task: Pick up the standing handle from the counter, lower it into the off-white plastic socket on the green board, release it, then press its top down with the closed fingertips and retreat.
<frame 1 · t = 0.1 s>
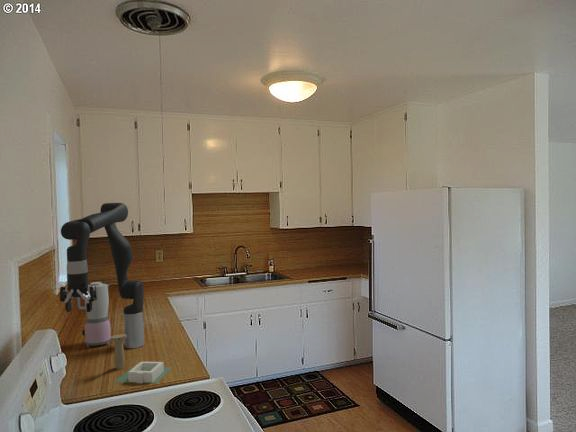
hand: (78, 311, 168), 29 cm above the countertop, tool pointing down, fingers open, 8 cm apart
handle: (119, 370, 181), on the countertop
blender: (95, 344, 216), on the countertop
socket: (146, 376, 171), resting on board
board: (144, 376, 174), on the countertop
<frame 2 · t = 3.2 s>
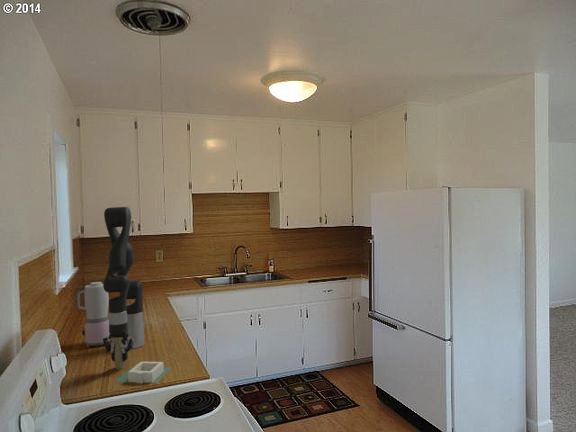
hand: (119, 360, 181), 4 cm above the countertop, tool pointing down, fingers closed on handle, 4 cm apart
handle: (119, 370, 181), on the countertop, touching gripper
everything else where it was.
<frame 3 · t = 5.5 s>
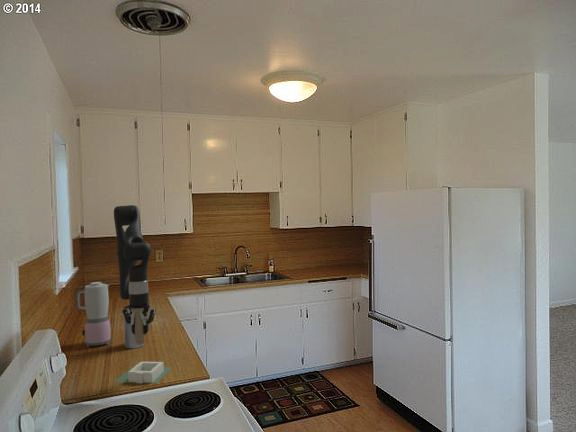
hand: (140, 333, 170), 19 cm above the countertop, tool pointing down, fingers closed on handle, 4 cm apart
handle: (140, 344, 170), point 15 cm above the countertop, touching gripper
everything else where it was.
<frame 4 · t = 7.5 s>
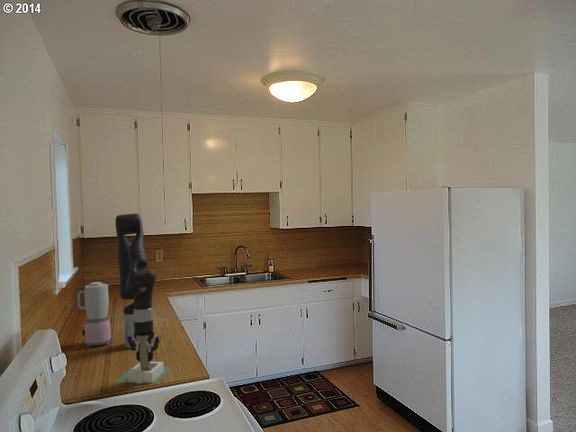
hand: (144, 360, 170), 8 cm above the countertop, tool pointing down, fingers closed on handle, 4 cm apart
handle: (145, 371, 170), point 4 cm above the countertop, touching gripper
everything else where it was.
when the fingers open (7 cm above the countertop, at t = 8.2 s): handle drops 1 cm, resting on board.
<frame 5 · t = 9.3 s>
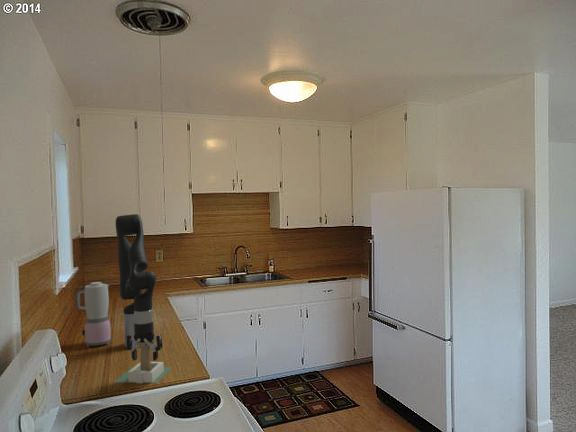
hand: (145, 360, 170), 8 cm above the countertop, tool pointing down, fingers open, 8 cm apart
handle: (145, 377, 170), point 1 cm above the countertop, touching board
everything else where it was.
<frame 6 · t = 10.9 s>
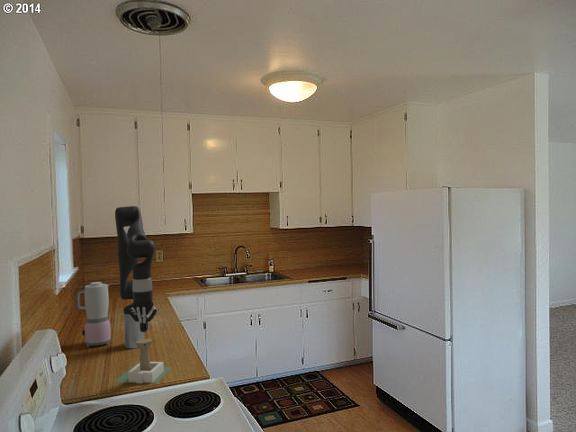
hand: (144, 331, 170), 20 cm above the countertop, tool pointing down, fingers closed
nothing on the countertop moved.
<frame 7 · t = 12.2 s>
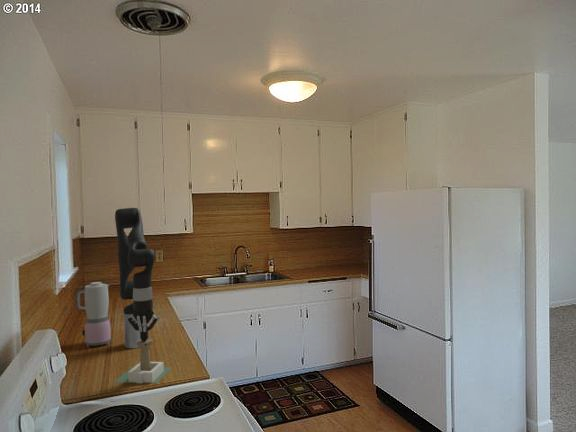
hand: (144, 340, 170), 16 cm above the countertop, tool pointing down, fingers closed
nothing on the countertop moved.
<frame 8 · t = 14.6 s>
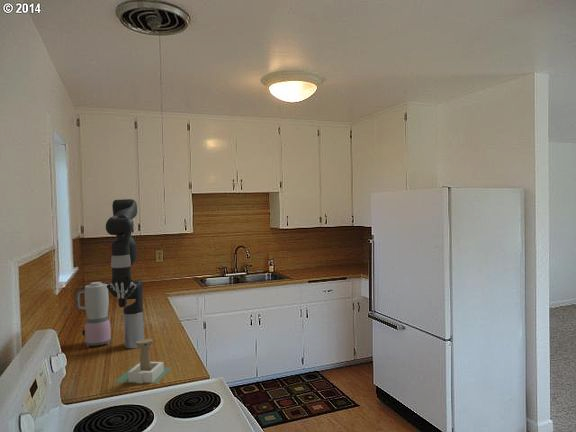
hand: (122, 306, 175), 29 cm above the countertop, tool pointing down, fingers closed
nothing on the countertop moved.
at the end: handle 0.0 cm from the target spot, point 0.8 cm above the countertop; handle tilted 0°; the gripper is holding nothing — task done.
